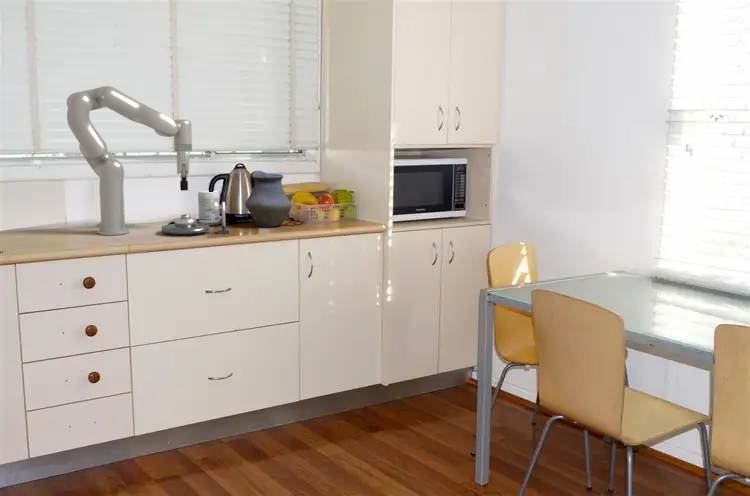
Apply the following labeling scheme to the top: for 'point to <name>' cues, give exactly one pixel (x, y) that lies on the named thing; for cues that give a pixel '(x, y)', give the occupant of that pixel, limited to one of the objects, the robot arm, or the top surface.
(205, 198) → the supplement tub
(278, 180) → the pitcher
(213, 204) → the dial indicator
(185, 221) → the cast cover
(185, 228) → the turntable
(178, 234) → the turntable base
